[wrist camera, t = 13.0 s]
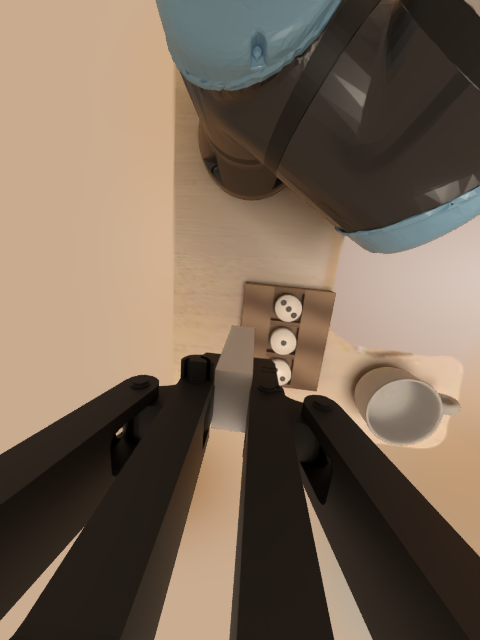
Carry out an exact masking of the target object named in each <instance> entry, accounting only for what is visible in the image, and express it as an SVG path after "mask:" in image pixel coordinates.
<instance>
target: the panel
mask: <svg viewBox="0 0 480 640" xmlns="http://www.w3.org/2000/svg"><path fill="white" fill-rule="evenodd" d="M282 294H292V295H294V296H295V297H296V298H297V299H298V300H299V301H300V303H301V305H302V312H301V315H300V316H299V317H298V318H297V319H296V320H294V321H291V322H285V321H283V320H281V319H280V318H279V317H278V316H277V314H276V312H275V309H274V304H275V301H276V299H277V298H278V297H279V296H280V295H282ZM335 296H336V293H335V292H332V291H325V290H316V289H306V288H296V287H286V286H277V285H267V284H257V283H247V282H246V284H245V293H244V303H243V313H242V323H241V326H242V327H251V328H255V330H254V356H253V357H255V358H264V359H271V358H273V357H280V358H284V359H286V360H287V362H288V364H289V367H290V370H291V378H290V380H289V381H288V382H287V383H286V384H284V385H280V386H281V387H286V388H294V389H302V390H310V391H317V386H318V381H319V376H320V371H321V366H322V361H323V356H324V351H325V346H326V341H327V336H328V331H329V326H330V321H331V316H332V311H333V306H334V301H335ZM280 326H285V327H288V328H289V329H290V330H291V331H292V332H293V334H294V336H295V338H296V347H295V349H294V350H293V351H292V352H291V353H289V354H286V355H281V354H278V353H276V352H275V351H274V350H273V349H272V347H271V342H270V334H271V332H272V331H273V330H274V329H275V328H277V327H280Z"/></svg>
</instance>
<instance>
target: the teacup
mask: <svg viewBox="0 0 480 640" xmlns="http://www.w3.org/2000/svg"><path fill="white" fill-rule="evenodd" d="M354 397H355V403H356V406H357V408H358V410H359V412H360V414H361V416H362V417H363V419H364V420H365V422H366V423H367V425H368V427H369V429H370V430H371V431H372V433H373V434H374V435H375V436H377V437H378V438H379V439H380V440H382V441H384V442H386V443H389V444H393V445H400V446H403V445H411V444H415V443H419V442H421V441H423V440H425V439H426V438H428V437H429V436H431V435H432V434H433V433H434V432H435V431H436V429H437V428H438V426H439V424H440V422H441V419H442V416H443V414H445V415H456V414H458V413H459V412H460V408H461V407H460V404H459V402H458V401H457V400H456V399H454V398H452V397H450V396H447V395H444V394H440V393H437V391H436V390H435V389H434V388H433V387H432V386H430V385H429V384H427V383H425V382H423V381H421V380H419V379H418V378H416V377H415V376H413V375H411V374H410V373H408V372H406V371H404V370H401V369H398V368H394V367H380V368H376V369H373V370H371V371H369V372H368V373H366V374H365V375H364V376H363V377H362V378H361V379H360V380H359V382H358V383H357V385H356V388H355V393H354Z"/></svg>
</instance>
